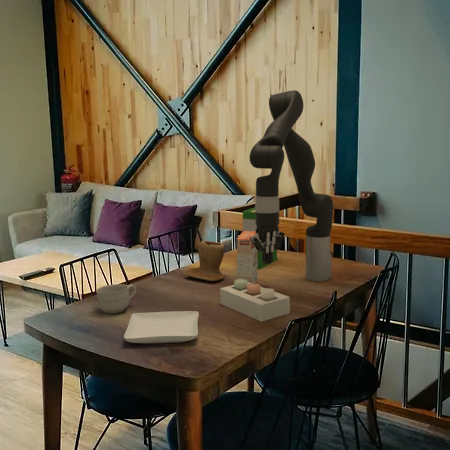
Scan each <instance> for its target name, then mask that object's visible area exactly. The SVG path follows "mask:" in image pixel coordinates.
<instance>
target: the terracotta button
mask: <svg viewBox="0 0 450 450" xmlns="http://www.w3.org/2000/svg"><path fill="white" fill-rule="evenodd" d="M260 286H261V284H259V283H257V284H256V283H252V284H248V285H247V294H249V295H259V294H260V293H261V287H262V286H261V287H260Z"/></svg>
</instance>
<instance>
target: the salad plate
mask: <svg viewBox="0 0 450 450" xmlns="http://www.w3.org/2000/svg"><path fill="white" fill-rule="evenodd" d="M199 315H200V313H199V311H197V310H195V311H194V310H193V311H192V310H191V311H187V310H186V311H177V310H176V311H157V312H156V311H153V312H136V313H135V312H134V313H131V315H130V317H129V322H128V325H127V327H126V329H125V333H124V335H123V338H124V339H123V340H125V341H126V342H128V343H132V344H164V343H165V344H169V343H184V342H188V341H189V342H190V341H192V340H195V339H196V338H197V337H198V335H199V328H198V327H199V325H198V324H199V322H198V321H199Z"/></svg>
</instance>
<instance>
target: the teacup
mask: <svg viewBox="0 0 450 450" xmlns="http://www.w3.org/2000/svg"><path fill="white" fill-rule="evenodd" d="M131 288H132V291H131V294H130V292H129V291H130V289H131ZM95 292H96V300H97V305H98V307H99V310H101V311H103V312H104V313H105V314H116V313H117V314H118V313H122V312H124V311H125V310H126V308H127V307H128V306H129V304H130V301H131V300H132V299H133V297H134V296H135V295H136V292H137V287H136V286H135V284H128V285H126V284H123V283H122V284H121V283H115V284H114V283H113V284H108V285H103V286H100V287H98V288H97V289H96V290H95Z"/></svg>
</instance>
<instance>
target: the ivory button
mask: <svg viewBox="0 0 450 450" xmlns="http://www.w3.org/2000/svg"><path fill="white" fill-rule="evenodd" d="M264 288H265V287H264ZM274 292H275V289H274V288H268V287H267V288H265V289H261V299H262V300H265V301H270V300H274Z"/></svg>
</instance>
